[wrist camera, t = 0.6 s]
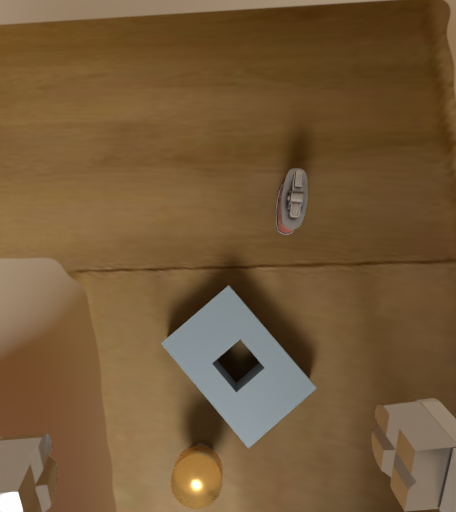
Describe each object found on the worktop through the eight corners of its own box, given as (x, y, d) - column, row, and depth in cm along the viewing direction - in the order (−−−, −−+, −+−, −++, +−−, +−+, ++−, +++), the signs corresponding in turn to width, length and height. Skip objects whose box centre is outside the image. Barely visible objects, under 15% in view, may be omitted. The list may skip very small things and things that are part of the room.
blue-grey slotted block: (229, 284, 58) (228, 285, 53) (309, 378, 57) (316, 388, 52) (167, 337, 58) (160, 343, 53) (247, 433, 57) (248, 448, 52)
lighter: (295, 236, 58) (308, 227, 48) (272, 233, 58) (280, 224, 48) (300, 183, 59) (314, 163, 49) (278, 180, 59) (287, 160, 49)
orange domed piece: (232, 457, 57) (232, 485, 49) (198, 487, 56) (193, 519, 49) (203, 422, 57) (199, 445, 49) (170, 452, 57) (160, 479, 49)
